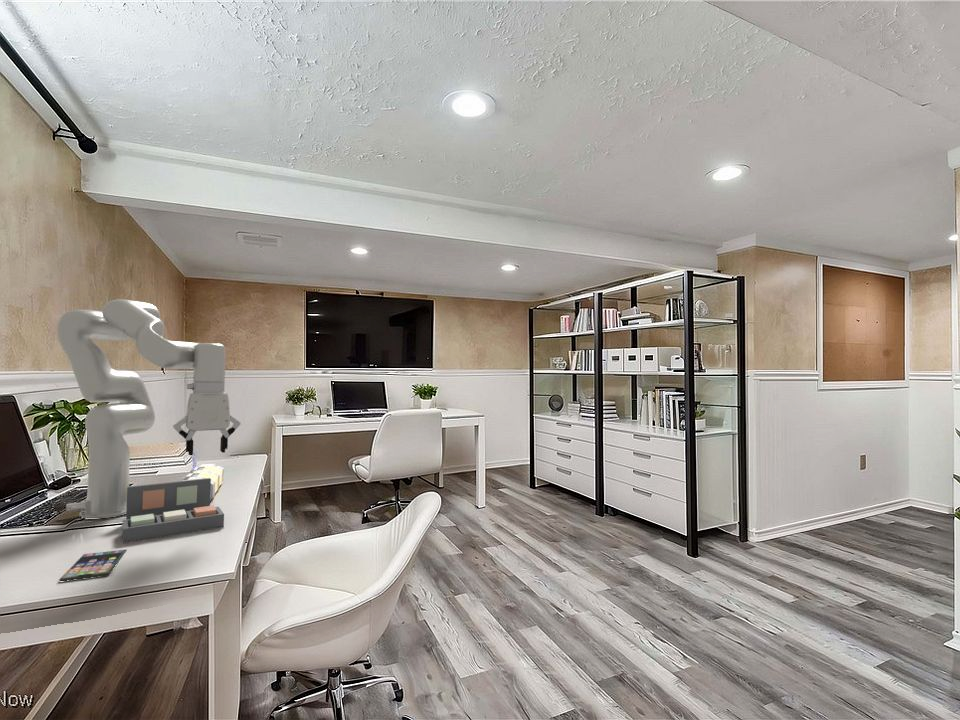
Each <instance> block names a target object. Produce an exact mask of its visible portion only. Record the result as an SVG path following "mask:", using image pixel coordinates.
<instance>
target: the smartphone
mask: <svg viewBox="0 0 960 720" xmlns="http://www.w3.org/2000/svg"><path fill="white" fill-rule="evenodd" d="M126 552H127V549H119V550H118V549H117V550H110V551H109V550H108V551H101V552H100V551H99V552H93V553H91V552H90V553H84V554H82V555H81V556H80V558H79V559H78V560H77V561H76V562H75V563H73V564H72V566H71V567H70V568H69V569H67V571H65V573H64V574H63V575H62V576H61V577H60V578H59V579H58V580H59V581H67V580H74V579H82V580H84V579H83V578H90V579H92V578H91V577H97V578H99V577H98V576H105V577H109V576H110V575H111V573H112V572H113V571H114V569H115V568H116V566H117V565H118V564H119V561H120V560H121V559H122V557H124V555H125V553H126ZM116 564H117V565H116ZM115 565H116V566H115ZM114 567H115V568H114ZM113 568H114V569H113ZM112 570H113V571H112ZM111 571H112V572H111ZM110 572H111V573H110ZM109 574H110V575H109ZM108 575H109V576H108ZM74 581H75V580H74ZM67 582H68V581H67Z"/></svg>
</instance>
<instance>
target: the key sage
mask: <svg viewBox="0 0 960 720" xmlns="http://www.w3.org/2000/svg"><path fill="white" fill-rule="evenodd" d="M154 522H155V518H154V515H153V514H147V515H140V516H133V517H131V523H130V527H133V526H140V525H146V524H153V523H154Z"/></svg>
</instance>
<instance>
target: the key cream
mask: <svg viewBox="0 0 960 720" xmlns="http://www.w3.org/2000/svg"><path fill="white" fill-rule="evenodd" d="M186 516H187V514H186V512H185V510H176V511H169V512H163V522H167V521H173V520H180V519H186Z"/></svg>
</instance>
